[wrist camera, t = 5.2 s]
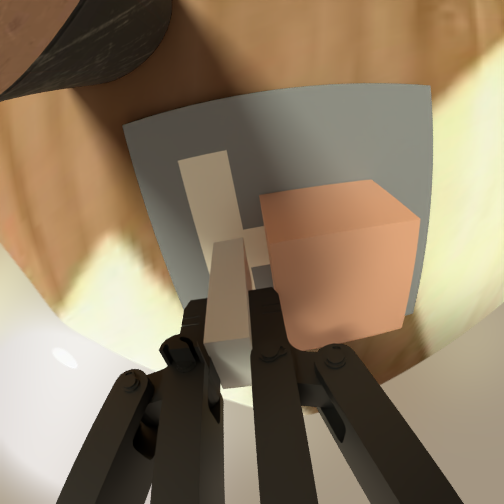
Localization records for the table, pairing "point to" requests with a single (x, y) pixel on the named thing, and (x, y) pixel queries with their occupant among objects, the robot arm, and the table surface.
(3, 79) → the travel mug
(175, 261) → the letter mat
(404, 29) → the table surface
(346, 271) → the terracotta block
